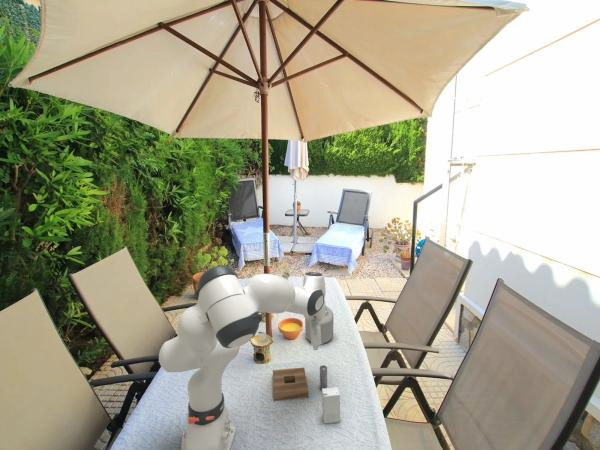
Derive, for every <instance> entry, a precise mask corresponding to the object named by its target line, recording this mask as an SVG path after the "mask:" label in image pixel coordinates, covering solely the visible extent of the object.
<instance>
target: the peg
mask: <svg viewBox="0 0 600 450" xmlns="http://www.w3.org/2000/svg"><path fill="white" fill-rule="evenodd" d="M324 388H328V367H327V366H326V365H321V366H319V389H320V390H319V391H321V392H322V389H324Z"/></svg>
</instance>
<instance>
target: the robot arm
mask: <svg viewBox="0 0 600 450" xmlns="http://www.w3.org/2000/svg"><path fill="white" fill-rule="evenodd" d="M302 281H303V283H302V286H301V287H300V286H295V285H293V283H292V282H291V281H289V280H287V279H285V278H283V277H282V276H280V275H277V274H272V273H258V274H255V275H253V276H252V277H250V278H249V279H248V280H247V281H246V284H245V287H243V286H242V283H241V282H240V280H239V278H238V274H237V273H236V272H235V270H234V269H233V268H232V267H231V266H230V265H223V264H222V265H220V264H219V265H216V266H212V267H211V268H208V269H207V270H205V271H204V272H203V273H202V275H201V276H200V278H199V280H198V283H197V289H196V290H195V291H194V297H196V298H197V303H196V304H195V305H192V306H190V307H188V308H187V309H185V310H184V311H183V312H182V313H181V315H180V316H179V319H178V322H177V327H176V328H177V330H176V332H177V333H176V334H177V336H175V337H173V338H172V339H168V340H166V341H165V342H164V343H163V344H162V345H161V348H160V349H159V353H158V361H159V365H160V367H161V368H162V370H164V372H166V373H184V372H188V371H192V370H196V372H194V373H192V376H191V377H190V378H189V380H188V381H187V397H188V403H187V404H188V405H187V413H186V430H184V431H183V433H182V434H181V446H180V447H181V448H180V450H231V448H232V445H233V443H234V439H235V437H236V433H237V430H238V429H237V427H236V426H235V425H233V424H232V421H231V420H232V419H231V413H230V409H229V408H227V407H226V405H225V395H224V393H223V387H222V386H223V375H224V372H225V370H226V368H227V367H228V366H229V364H230V363H231V362H232V361H233V360H235V359H236V357H237V356H238V354H239V353H240V350H241V347H242V346H245V344H247V343H248V342H249V341H251V339H253V338H255V335H256V334H257V332H258V330H259V325H260V323H261V322H262V320H263V315H262V314H261V313H269V314H283V313H286V312H287V313H293V314H297V315H301V316H303V317H304V319H305V318H306V319H307V320H308V321H309V322H310V333H311V341H310V342H311V343H310V345H312V346H313V347H312V348H313V351H318V349H319V346H321V345H322V344H321V328H320V321H322V319H323V318H324V317H325V316H326V306H327V304H326V281H325V276H324V274H322V273H321V272H316V271H309V272H304V275H303V280H302ZM197 369H198V370H197ZM185 436H186V437H185Z"/></svg>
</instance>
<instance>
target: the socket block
mask: <svg viewBox="0 0 600 450" xmlns="http://www.w3.org/2000/svg"><path fill="white" fill-rule="evenodd" d="M306 375H307V374H306V370H305V367H295V368H292V367H291V368H284V369H273V370H272V391H273V392H272V393H273V401H280V400H281V401H282V400H283V401H284V400H293V399H294V400H295V399H305V398H309V388H308V381H307V376H306Z"/></svg>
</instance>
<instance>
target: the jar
mask: <svg viewBox="0 0 600 450" xmlns="http://www.w3.org/2000/svg"><path fill="white" fill-rule="evenodd" d="M334 319H335V318H334V312H333V310H332V309H331V308H330V307H328V306H327V305H326V316H325V317H324V318H323V319H322V321H320V328H321V344H320V345H323V344H325V343H328V342H330V340H331V339H332V338H333V336H334ZM304 321H305V324H304V325H305V326H304V327H305V328H304V329H305V332H304V333H305V336H306V338H307V340H309V341H310V342H311V333H310V322H309V321H308V320H307V319H306V318H305V317H304ZM327 349H329V348H327Z"/></svg>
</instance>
